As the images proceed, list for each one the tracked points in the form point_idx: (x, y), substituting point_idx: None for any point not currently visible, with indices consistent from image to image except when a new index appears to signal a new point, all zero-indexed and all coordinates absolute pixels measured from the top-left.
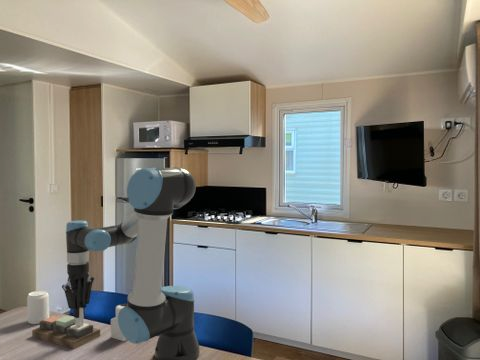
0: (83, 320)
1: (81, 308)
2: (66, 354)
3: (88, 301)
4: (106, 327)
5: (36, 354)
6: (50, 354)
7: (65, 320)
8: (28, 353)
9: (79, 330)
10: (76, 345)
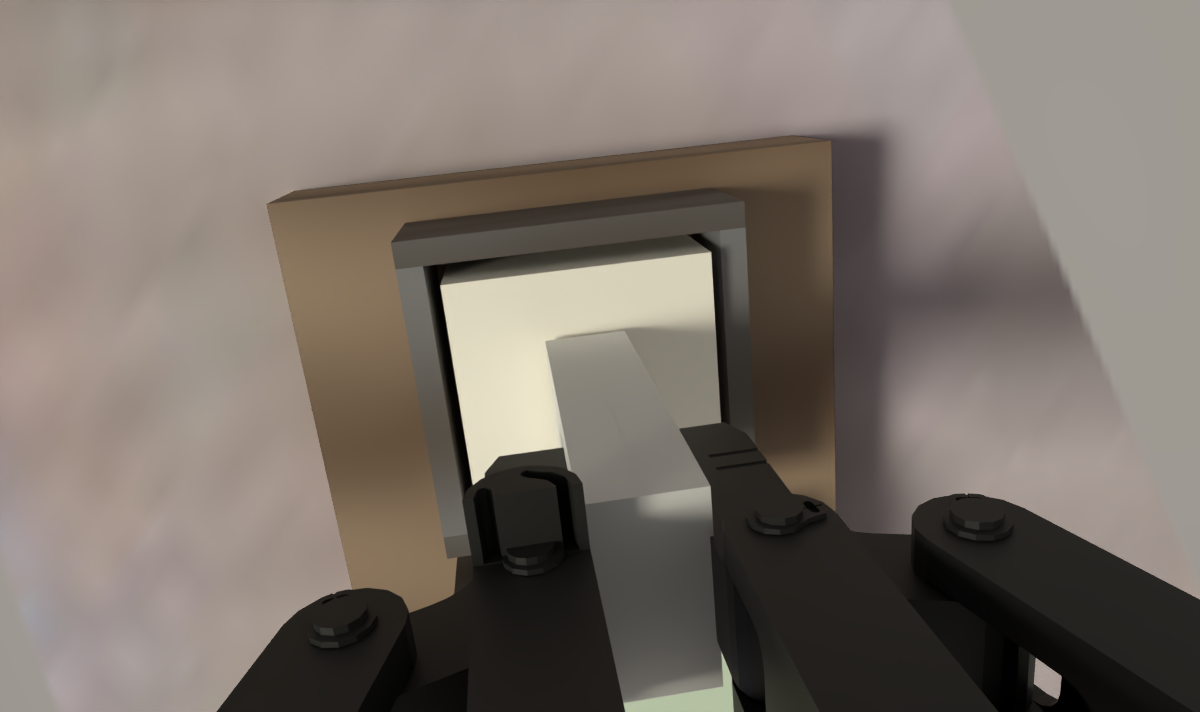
0: (554, 371)
1: (642, 510)
2: (948, 79)
3: (311, 644)
4: (35, 389)
5: (1093, 406)
6: (1030, 265)
7: (681, 703)
8: (1108, 501)
9: (693, 249)
10: (764, 140)
